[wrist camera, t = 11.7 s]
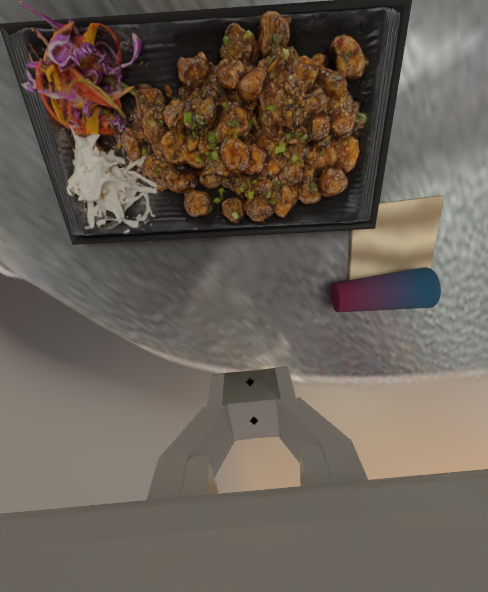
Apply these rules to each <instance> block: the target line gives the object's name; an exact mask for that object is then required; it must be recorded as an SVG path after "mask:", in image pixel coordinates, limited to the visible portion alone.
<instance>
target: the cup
mask: <svg viewBox="0 0 488 592" xmlns="http://www.w3.org/2000/svg"><path fill="white" fill-rule="evenodd" d="M440 294H441V287H440V282H439V279H438V277H437V275H436V273H435V272H434V271H433V270H432V269H430V268H428V267H422V268H416V269H411V270H405V271H399V272H393V273H388V274H382V275H376V276H371V277H365V278H359V279H354V280H348V281H342V282H337V283H333V284H332V286H331V300H332V304H333V307H334V310H335V311H336V312H352V311H373V310H394V309H414V308H431V307H434V306H435V305H436V304H437V303H438V301H439V299H440Z"/></svg>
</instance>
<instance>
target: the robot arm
mask: <svg viewBox="0 0 488 592" xmlns="http://www.w3.org/2000/svg"><path fill="white" fill-rule="evenodd" d="M277 436H279V437H280V439H281V440H282V441H283V443H284V444H285V445H286V446H287V448H288V449H289V450H290V451H291V453H292V454H293V455H294V457H295V458H296V459H297V460H298V462H299V463H300V476H301V477H300V479H301V486H300V487H288V488H278V489H267V490H256V491H244V492H233V493H222V494H219V493H218V490H217V486H216V482H215V479H214V478H215V476H216V474H217V472H218V470H219V469H220V467H221V465H222V463H223V461H224V459H225V458H226V456H227V454H228V452H229V450H230V449H231V447H232V445H233V443H234V441H236V440H243V439H252V438H256V437H257V438H262V437H277ZM0 592H488V469H484V470H473V471H463V472H451V473H442V474H429V475H418V476H407V477H396V478H385V479H374V480H368V478H367V476H366V473H365V471H364V469H363V466H362V464H361V462H360V460H359V457H358V455H357V452H356V450H355V448H354V445H353V443H352V441H351V440H350V439H349V438H348V437H347V436H345V435H344V434H343V433H342V432H341V431H339V430H338V429H337V428H336V427H335V426H333V425H332V424H331V423H330V422H329V421H327V420H326V419H325V418H324V417H323V416H321V415H320V414H319V413H318V412H317V411H315V410H314V409H313V408H312V407H311V406H309V405H308V404H307V403H306V402H305V401H303V400H302V399H301V398H296V396H295V392H294V388H293V385H292V381H291V377H290V373H289V369H288V367H287V366H285V367H277V368H270V369H262V370H253V371H242V372H230V373H220V374H213V375H212V377H211V383H210V390H209V398H208V405H207V407H204V408H202V410H201V411H200V412H199V413H198V414H197V415H196V416H195V418H194V419H193V420H192V421H191V422H190V423H189V424H188V426H187V427H186V428H185V429H184V430H183V431H182V432H181V434H180V435H179V436H178V437H177V438H176V439H175V440H174V441H173V443H172V444H171V445H170V446H169V447H168V448H167V449H166V451H165V452H164V453H163V454H162V455H161V456H160V457H159V459H158V462H157V466H156V469H155V473H154V476H153V480H152V483H151V486H150V490H149V493H148V497H147V500H145V501H135V502H123V503H113V504H101V505H90V506H79V507H69V508H58V509H47V510H36V511H25V512H14V513H3V514H0Z"/></svg>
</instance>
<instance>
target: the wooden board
mask: <svg viewBox="0 0 488 592" xmlns="http://www.w3.org/2000/svg"><path fill="white" fill-rule="evenodd" d="M443 201H444V196H441V195H440V196H433V197H425V198H417V199H409V200H401V201H393V202H385V203H379V208H378V215H377V221H376V227H375V229H363V230H351V234H350V252H349V270H348V280H354V279H359V278H365V277H371V276H376V275H382V274H388V273H393V272H399V271H405V270H411V269H416V268H422V267H428V268H430V267H431V262H432V257H433V252H434V247H435V242H436V237H437V232H438V227H439V221H440V216H441V211H442V206H443Z"/></svg>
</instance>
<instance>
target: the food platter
mask: <svg viewBox="0 0 488 592" xmlns="http://www.w3.org/2000/svg"><path fill="white" fill-rule="evenodd" d="M17 1H18V3H19V4H20V5H21V6H23V7H26V8H28V9H29V10H31V11H33V12H34V13H35V14H37V15H39V16H40V17H41V18H43V19H44V20H46V21H33V22H19V23H5V24H0V30H1V33H2V36H3V39H4V42H5V45H6V48H7V51H8V54H9V57H10V60H11V63H12V66H13V69H14V72H15V75H16V77H17V80H18V83H19V86H20V89H21V92H22V95H23V98H24V101H25V104H26V107H27V110H28V113H29V116H30V119H31V122H32V125H33V128H34V131H35V134H36V137H37V140H38V143H39V146H40V149H41V152H42V155H43V158H44V161H45V164H46V167H47V170H48V173H49V176H50V179H51V182H52V185H53V188H54V191H55V194H56V197H57V200H58V203H59V206H60V209H61V211H62V214H63V217H64V220H65V223H66V226H67V229H68V232H69V235H70V238H71V241H72V244H73V245H75V244H94V243H114V242H133V241H152V240H171V239H190V238H210V237H229V236H248V235H267V234H286V233H306V232H325V231H344V230H363V229H375V227H376V221H377V215H378V208H379V202H380V196H381V190H382V184H383V177H384V171H385V165H386V159H387V153H388V146H389V140H390V134H391V128H392V122H393V115H394V109H395V103H396V97H397V91H398V84H399V78H400V72H401V66H402V60H403V53H404V47H405V41H406V35H407V29H408V22H409V16H410V10H411V4H412V0H333V1H319V2H305V3H291V4H276V5H262V6H248V7H233V8H219V9H205V10H190V11H176V12H162V13H148V14H133V15H119V16H105V17H90V18H76V19H62V20H52V19H51V18H49V17H47V16H45V15H43V14H41V13H39V12H37V11H36V10H35V9H33V8H31V7H29V6H28V5H26V4H25V3H24V2H22V1H20V2H19V0H17Z"/></svg>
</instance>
